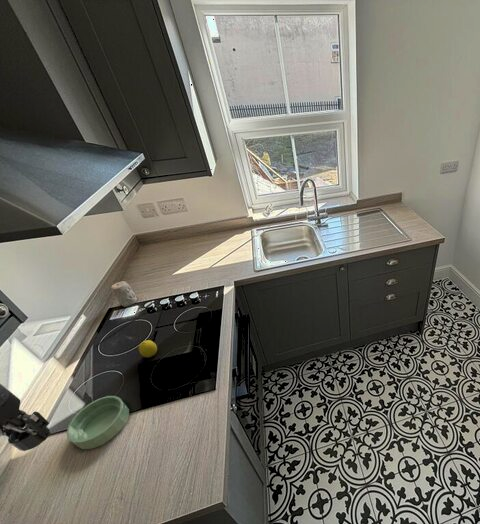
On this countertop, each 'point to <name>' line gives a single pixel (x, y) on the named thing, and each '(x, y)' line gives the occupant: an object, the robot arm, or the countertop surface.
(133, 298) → the carving
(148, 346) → the lemon
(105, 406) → the big bowl
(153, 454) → the countertop surface
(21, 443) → the small bowl
